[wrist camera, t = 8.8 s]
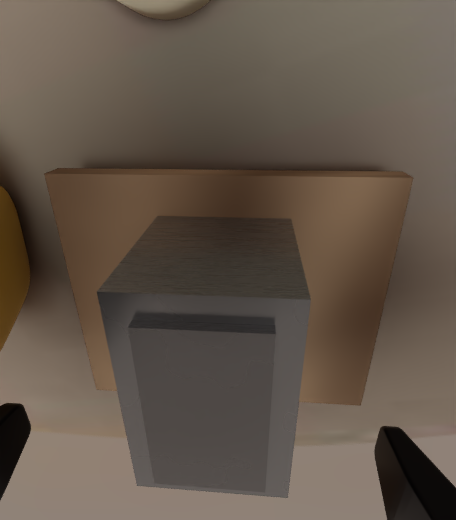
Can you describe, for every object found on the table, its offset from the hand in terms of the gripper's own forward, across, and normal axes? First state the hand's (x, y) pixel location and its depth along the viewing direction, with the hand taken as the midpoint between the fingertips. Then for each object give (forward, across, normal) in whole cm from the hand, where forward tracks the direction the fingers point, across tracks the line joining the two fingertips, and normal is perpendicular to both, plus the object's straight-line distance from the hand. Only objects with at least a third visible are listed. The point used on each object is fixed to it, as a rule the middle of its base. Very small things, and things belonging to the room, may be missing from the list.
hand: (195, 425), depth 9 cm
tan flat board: (+8, 0, 0) cm, 8 cm away
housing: (+5, 0, 0) cm, 5 cm away
